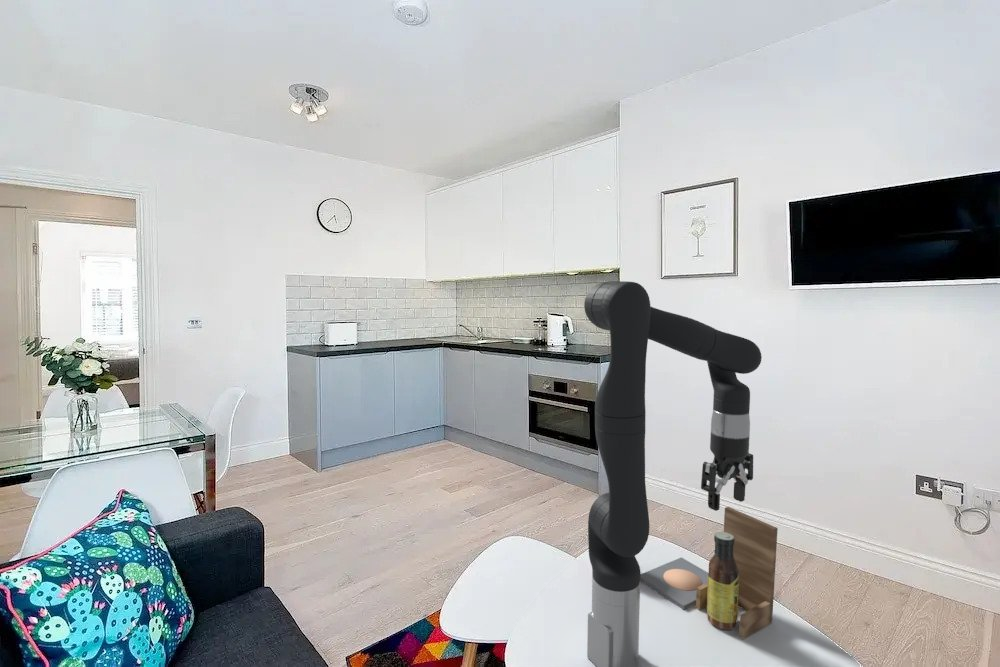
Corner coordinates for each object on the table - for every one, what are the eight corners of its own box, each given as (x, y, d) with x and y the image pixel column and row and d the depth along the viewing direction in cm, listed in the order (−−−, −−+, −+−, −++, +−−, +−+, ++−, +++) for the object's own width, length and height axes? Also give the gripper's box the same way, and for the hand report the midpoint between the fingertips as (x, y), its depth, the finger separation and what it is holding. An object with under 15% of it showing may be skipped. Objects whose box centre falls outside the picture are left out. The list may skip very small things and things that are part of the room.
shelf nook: (743, 639, 107) (748, 540, 104) (695, 607, 117) (699, 517, 115) (772, 622, 112) (777, 528, 110) (723, 593, 122) (728, 506, 120)
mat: (683, 609, 117) (683, 605, 116) (638, 578, 129) (638, 574, 128) (727, 587, 125) (727, 583, 124) (681, 560, 137) (681, 556, 136)
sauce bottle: (740, 633, 109) (744, 545, 107) (709, 629, 110) (713, 542, 108) (732, 613, 115) (736, 530, 113) (703, 610, 116) (707, 527, 114)
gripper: (724, 442, 101) (720, 519, 103) (766, 430, 108) (762, 503, 110) (692, 432, 107) (690, 505, 109) (735, 422, 115) (731, 491, 116)
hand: (726, 504), depth 110 cm, fingers open, 8 cm apart
